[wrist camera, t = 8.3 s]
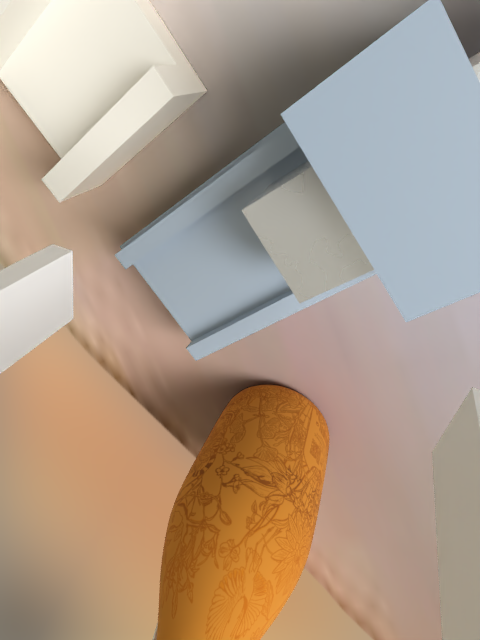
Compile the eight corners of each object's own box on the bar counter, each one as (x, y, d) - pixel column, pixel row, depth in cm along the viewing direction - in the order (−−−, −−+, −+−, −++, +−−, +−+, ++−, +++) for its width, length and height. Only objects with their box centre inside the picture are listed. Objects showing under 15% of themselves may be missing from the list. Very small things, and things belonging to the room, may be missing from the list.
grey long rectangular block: (317, 263, 28) (299, 303, 23) (270, 184, 26) (241, 210, 22) (698, 75, 19) (792, 80, 14) (658, -61, 17) (748, -105, 13)
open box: (146, 228, 35) (47, 292, 25) (425, 20, 24) (437, -7, 14) (221, 330, 37) (157, 423, 28) (506, 185, 26) (563, 258, 16)
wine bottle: (213, 377, 40) (-100, 893, 15) (324, 375, 36) (144, 1053, 12) (239, 460, 44) (26, 972, 19) (341, 466, 40) (236, 1109, 16)
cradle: (0, 49, 32) (-61, 48, 27) (95, -84, 26) (36, -111, 22) (101, 185, 34) (59, 202, 30) (207, 91, 29) (173, 96, 24)
